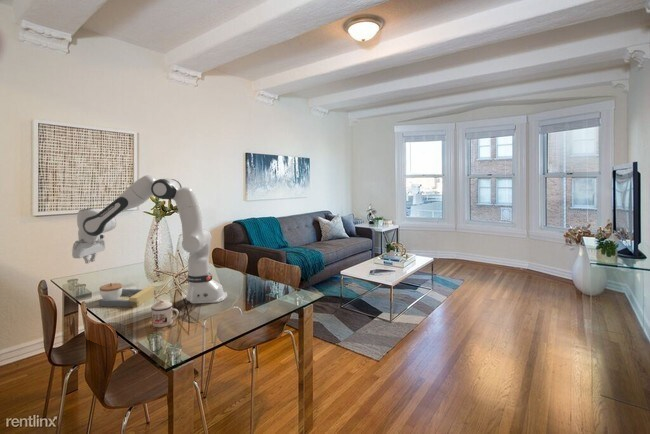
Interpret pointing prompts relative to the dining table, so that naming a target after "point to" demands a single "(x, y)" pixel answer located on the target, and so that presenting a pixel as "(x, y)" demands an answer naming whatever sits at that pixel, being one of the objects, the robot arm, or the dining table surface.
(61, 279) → the dining table surface
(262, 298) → the dining table surface
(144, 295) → the grey and yellow tray
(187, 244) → the robot arm
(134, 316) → the dining table surface
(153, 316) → the teacup with lid
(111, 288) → the lidded jar
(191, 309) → the dining table surface
